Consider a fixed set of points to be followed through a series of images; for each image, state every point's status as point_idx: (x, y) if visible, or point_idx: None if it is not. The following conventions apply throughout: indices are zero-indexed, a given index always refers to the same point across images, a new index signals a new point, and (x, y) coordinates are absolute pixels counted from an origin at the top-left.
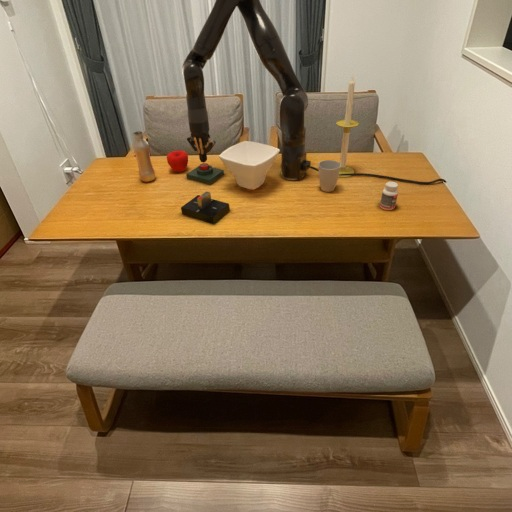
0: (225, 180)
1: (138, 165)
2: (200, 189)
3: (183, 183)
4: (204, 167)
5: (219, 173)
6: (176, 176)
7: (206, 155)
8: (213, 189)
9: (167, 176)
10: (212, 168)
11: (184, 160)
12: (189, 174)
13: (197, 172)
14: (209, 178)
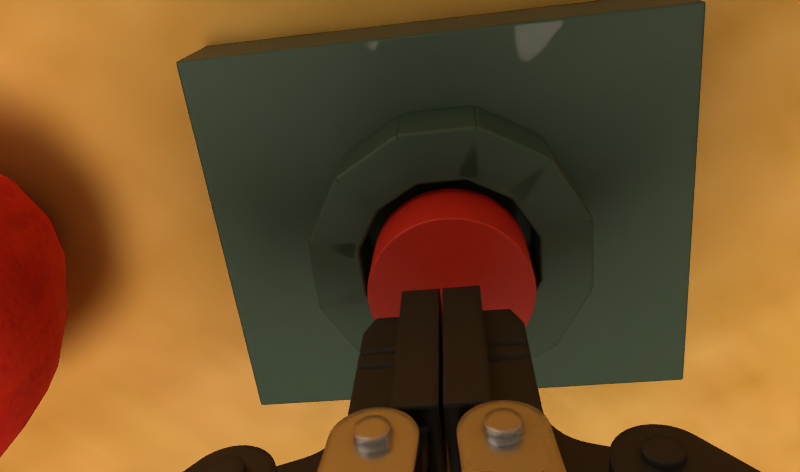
0: (796, 133)
1: None
2: None
3: None
4: None
5: (696, 140)
6: (117, 376)
7: (534, 384)
8: (764, 394)
9: (35, 422)
10: (570, 184)
11: (25, 357)
12: (309, 395)
13: None
14: (652, 351)
